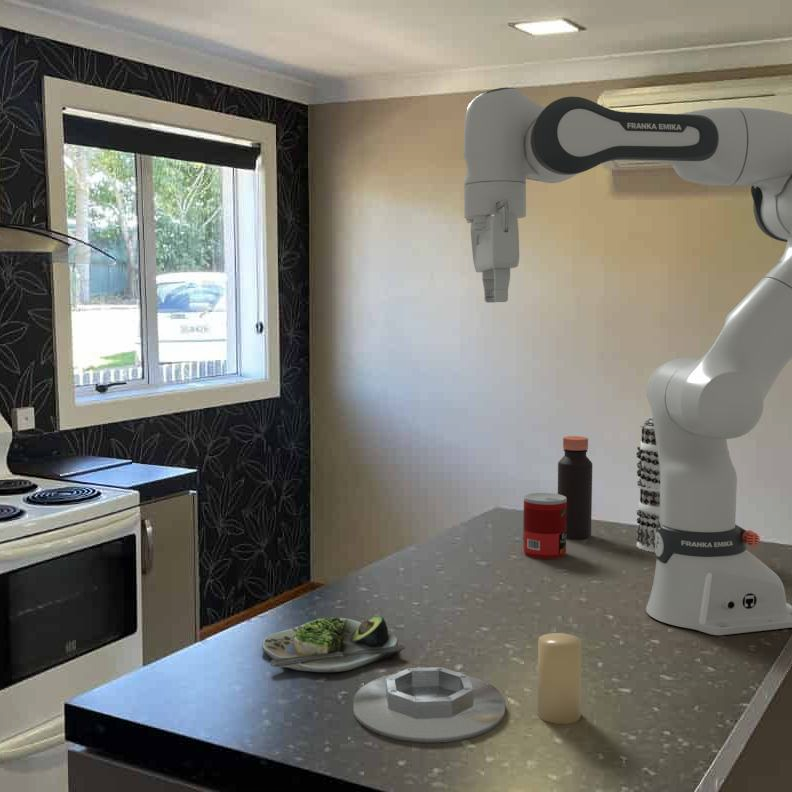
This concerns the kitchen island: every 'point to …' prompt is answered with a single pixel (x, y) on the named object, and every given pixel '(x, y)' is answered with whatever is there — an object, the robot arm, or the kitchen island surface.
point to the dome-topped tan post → (559, 678)
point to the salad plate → (332, 645)
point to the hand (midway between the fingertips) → (495, 302)
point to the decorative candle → (648, 488)
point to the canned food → (545, 525)
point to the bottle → (576, 486)
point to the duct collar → (429, 705)
